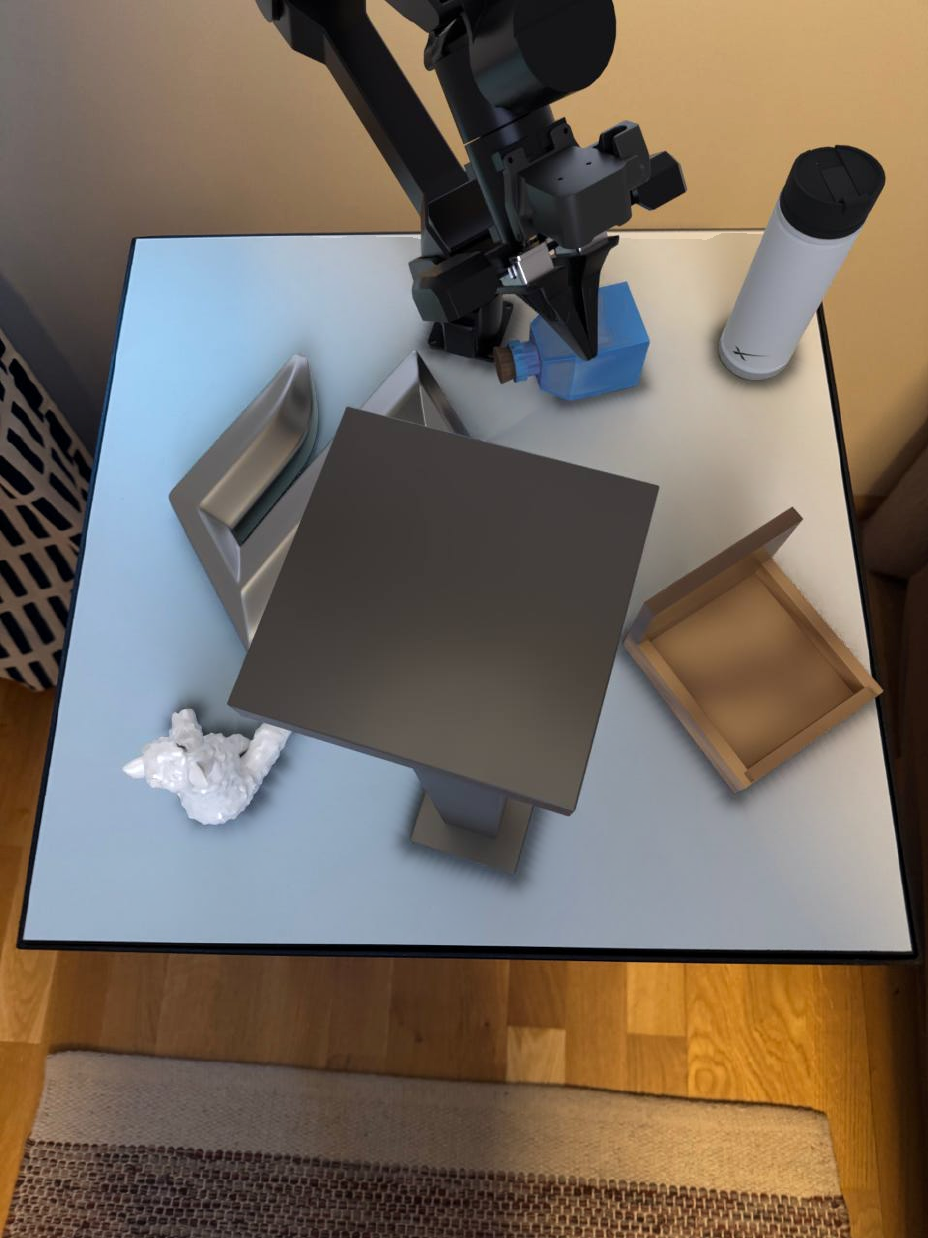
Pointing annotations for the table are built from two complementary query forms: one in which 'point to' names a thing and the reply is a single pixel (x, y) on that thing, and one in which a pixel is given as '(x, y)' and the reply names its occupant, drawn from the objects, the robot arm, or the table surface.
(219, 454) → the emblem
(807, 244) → the travel mug
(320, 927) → the table surface
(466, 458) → the plant stand
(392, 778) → the table surface
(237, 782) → the white creature statuette
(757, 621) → the oak drawer
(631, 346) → the perfume bottle
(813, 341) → the table surface
